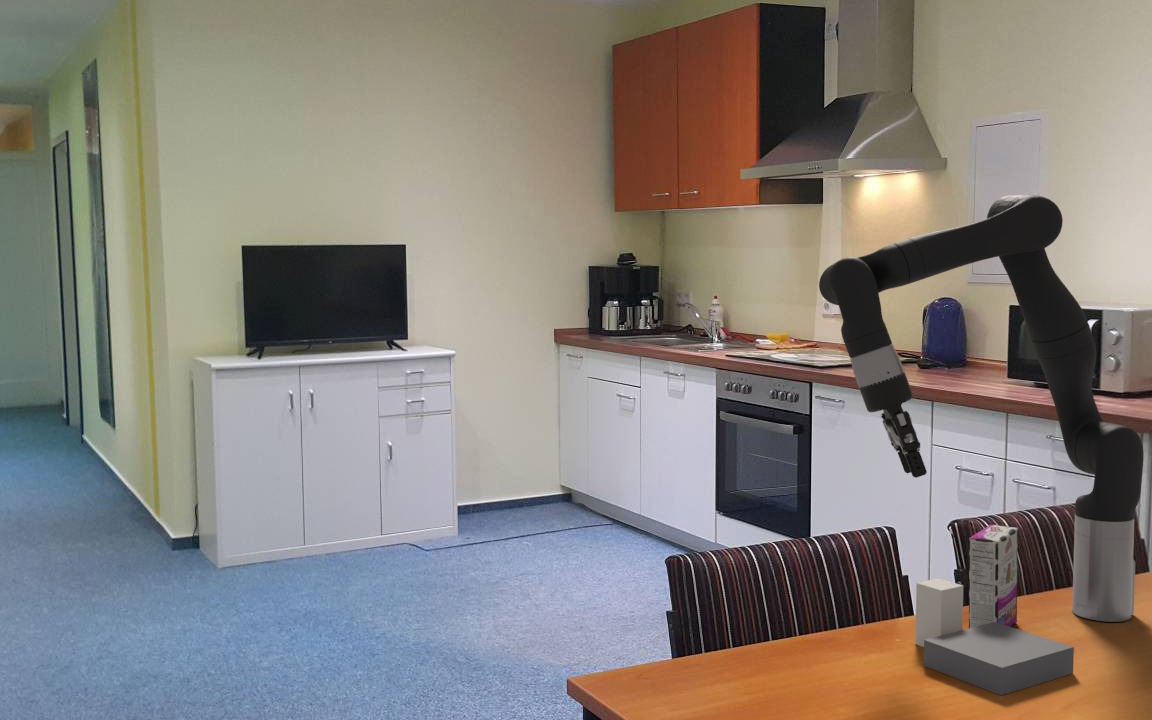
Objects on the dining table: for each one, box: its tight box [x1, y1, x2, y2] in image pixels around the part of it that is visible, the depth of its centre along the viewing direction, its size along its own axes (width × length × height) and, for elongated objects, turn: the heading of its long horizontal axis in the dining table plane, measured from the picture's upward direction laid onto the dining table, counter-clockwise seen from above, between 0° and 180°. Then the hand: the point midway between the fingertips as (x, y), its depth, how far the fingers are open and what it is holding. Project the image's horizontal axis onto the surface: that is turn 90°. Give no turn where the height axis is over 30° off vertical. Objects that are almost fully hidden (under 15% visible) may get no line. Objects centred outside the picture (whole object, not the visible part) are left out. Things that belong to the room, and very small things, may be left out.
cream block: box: [915, 578, 964, 648], centre depth 178 cm, size 5×5×10 cm
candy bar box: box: [968, 524, 1019, 629], centre depth 186 cm, size 11×5×16 cm, turn 143°
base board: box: [923, 622, 1075, 696], centre depth 168 cm, size 16×14×4 cm
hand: (916, 473), depth 179 cm, fingers open, 8 cm apart
